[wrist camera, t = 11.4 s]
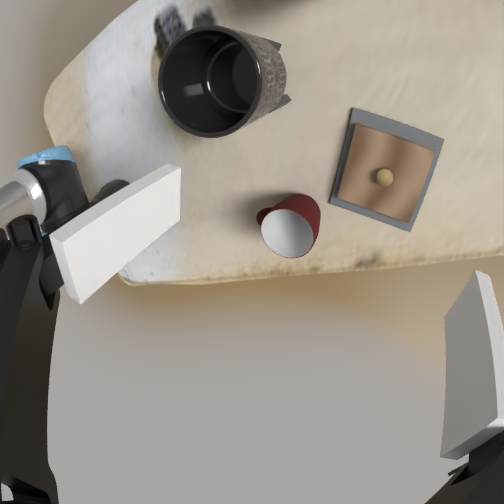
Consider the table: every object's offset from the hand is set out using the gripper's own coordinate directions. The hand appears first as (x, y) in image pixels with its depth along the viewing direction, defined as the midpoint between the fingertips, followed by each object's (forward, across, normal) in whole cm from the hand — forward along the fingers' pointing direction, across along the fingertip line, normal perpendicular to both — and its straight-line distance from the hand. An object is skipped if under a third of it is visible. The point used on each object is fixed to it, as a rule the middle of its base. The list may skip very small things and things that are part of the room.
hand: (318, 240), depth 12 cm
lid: (+36, +4, -8) cm, 37 cm away
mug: (+37, -8, -18) cm, 42 cm away
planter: (+37, -17, +2) cm, 41 cm away
